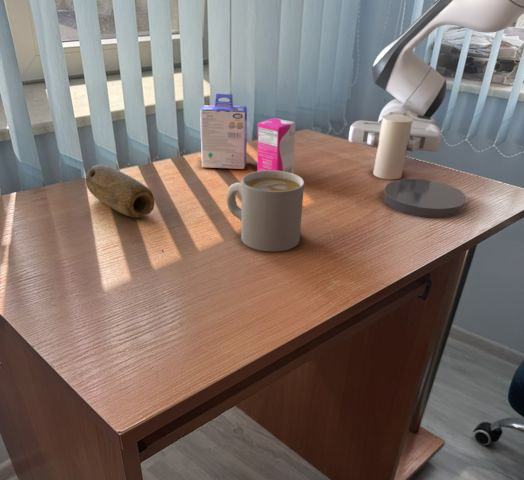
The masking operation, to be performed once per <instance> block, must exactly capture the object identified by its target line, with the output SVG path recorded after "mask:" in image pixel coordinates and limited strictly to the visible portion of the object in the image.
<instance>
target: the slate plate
mask: <svg viewBox="0 0 524 480" xmlns="http://www.w3.org/2000/svg"><path fill="white" fill-rule="evenodd" d="M382 199H383V201H384V203H385V204H386V205H387V206H389V207H390V208H392V209H394V210H395V211H398V212H401V213H404V214H406V215H410V216H415V217H422V218H430V219H431V218H433V219H442V218H443V219H444V218H450V217H454V216H457V215H459V214H461V213H462V212H463V211H464V209H465V206H466V203H467V196H466V195H465V193H463V191H462V190H460V189H458V188H456V187H454V186H452V185H449V184H446V183H443V182H440V181H434V180H430V179H429V180H428V179H423V178H422V179H419V178H404V179H396V180H393V181H390V182H389V183H387V184H386V185H385V186H384V189H383V194H382Z"/></svg>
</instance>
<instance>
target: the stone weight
mask: <svg viewBox="0 0 524 480" xmlns="http://www.w3.org/2000/svg"><path fill="white" fill-rule="evenodd" d="M85 185H86V188H87V189H88V191H89V192H90V193H91V194H92V195H93V197H95V199H97V200H98V201H100V202H102V203H103V204H104V205H106V206H108V207H109V208H111V209H113V210H114V211H116V212H118V213H120V214H121V215H124V216H127V217H130V218H140V217H143V216H147V215H149V214H150V213H152V211H153V210H154V206H155V197H154V194H153V192H152V191H151V189H150V188H149V187H148V186H147V185H145V184H143V183H142V182H141V181H139V180H137V179H136V178H134V177H132V176H130V175H128V174H126V173H124V172H123V171H121V170H119V169H116V168H114V167H113V166H110V165H106V164H95V165H93V166H91V167H90V168H89V169H88V171H87V173H86V175H85Z"/></svg>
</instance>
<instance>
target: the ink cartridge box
mask: <svg viewBox="0 0 524 480" xmlns="http://www.w3.org/2000/svg"><path fill="white" fill-rule="evenodd" d="M222 98H223V99H224V98H225V99H227V100H229V101H223V100H222V101H221V100H219V99H222ZM199 120H200V121H199V122H200V147H201V148H200V149H201V151H200V154H201V168H209V169H211V168H212V169H213V168H214V169H216V168H217V169H233V170H234V169H236V170H245V167H246V164H247V144H248V143H247V141H248V140H247V139H248V108H247V105H234V102H233V94H228V93H227V94H225V93H216V94H215V103H214V105H213V104H212V105H211V104H203V105H202V107H201V109H199Z"/></svg>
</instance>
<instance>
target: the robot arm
mask: <svg viewBox="0 0 524 480" xmlns="http://www.w3.org/2000/svg"><path fill="white" fill-rule="evenodd" d="M523 14H524V0H435V1H434V2H433V3H432V4H431V5H430V6H429V7H428V8H427V9H426V10H425V11H424V12H423V13H422V14H420V16H419V17H418V18H416V20H414V22H413V23H412V24H411V25H409V27H407V28H406V30H405V31H404V32H402V33H401V34H400V35H399V36H398V37H397V38H395V40H393V41H392V42H390V43H389V44H388V45H387V46H385V47H384V48H383V49H382V50H381V51H380V52H379V54H378V55H377V57H376V58H375V60H374V61H373V62H374V63H372V66H371V72H372V78H373V83H374V84H375V85H376V86H377V87H379V88H381V89H382V90H384V91H386V92H387V93H388V94H390V95H391V96H392V97H394V99H392V100H390V101H389V102H387V103H386V104H385V105H384V106H383V108H382V109H381V111H380V113H379V116H378V120H377V121H372V120H363V119H361V120H356V121H354V122H353V123H352V124H351V125H350V127H349V133H348V142H349V143H351V144H358V145H366V146H367V145H368V146H370V148H377V147H378V141H379V135H380V129H381V123H382V117H383V116H384V115H388V114H397V115H404V116H408V117H411V118H412V119H413V123H412V128H411V133H410V138H409V143H408V148H407V152H413V153H414V152H415V151H421V152H431V153H435V152H438V151H439V148H440V145H441V140H442V132H441V129H440V127H439V126H438V125H436V119H434V118H432V117H433V115H434V114H435V113H436V112H437V111H438V109H440V107H441V105H442V104H443V102H444V99H445V97H446V93H447V79H446V78H445V77H444V76H443V75H442V74H440V72H439V71H437V70H436V69H435V68H433V67H432V66H431V65H430V64H428V63H427V62H426V61H424V59H422V58H421V57H420V56H419V55H417V53H416V52H415V51H414V49H416V48H417V47H418V45H419V44H421V43H422V42H423V41H424V40H425V39H426V38H428V37H429V35H430V34H432V33H433V32H434V31H435V30H437V28H439V27H442V26H457V27H461V28H465V29H469V30H471V31H474V32H477V33H487V34H488V33H496V32H500V31H503V30H505V29H507V28H509V27H510V26H511V25H513V24H514V23H515V22H516V21H517V20H518V19H519V18H520V17H521V16H522V15H523Z"/></svg>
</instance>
